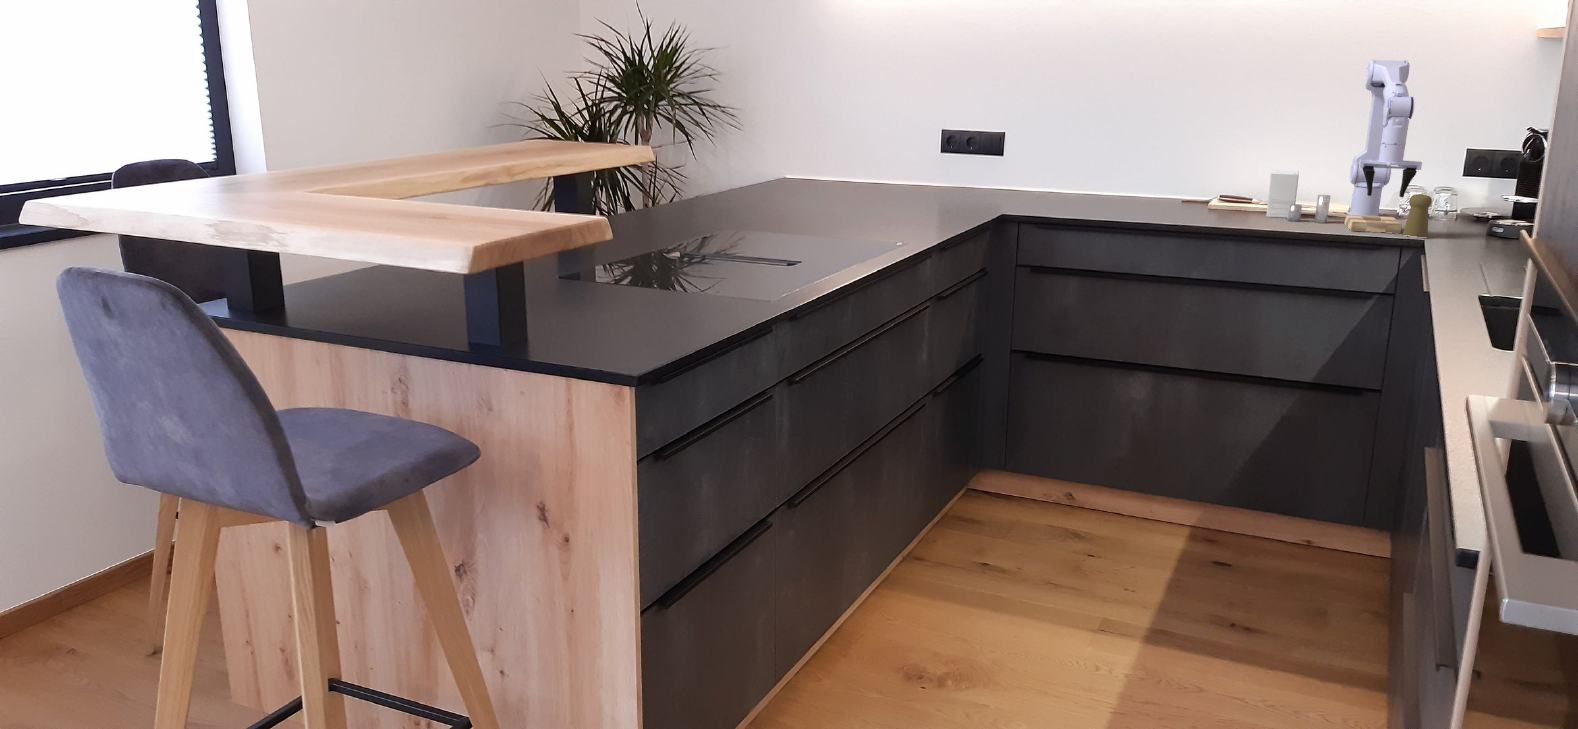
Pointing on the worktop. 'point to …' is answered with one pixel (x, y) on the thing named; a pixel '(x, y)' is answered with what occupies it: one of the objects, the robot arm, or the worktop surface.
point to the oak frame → (1372, 223)
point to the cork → (1418, 216)
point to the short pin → (1294, 213)
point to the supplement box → (1282, 193)
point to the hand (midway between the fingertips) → (1385, 196)
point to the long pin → (1322, 208)
